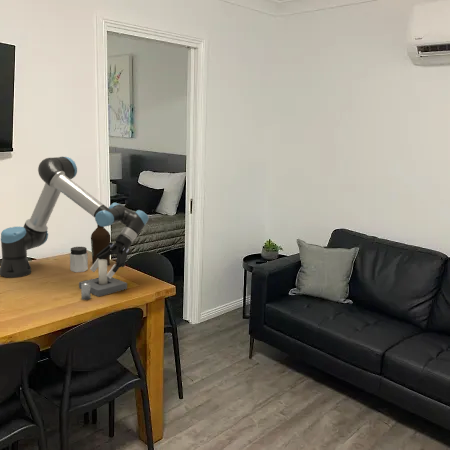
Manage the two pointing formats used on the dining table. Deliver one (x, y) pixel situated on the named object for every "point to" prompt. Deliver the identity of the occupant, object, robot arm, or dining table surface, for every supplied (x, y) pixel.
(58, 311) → the dining table surface
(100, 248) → the olive oil
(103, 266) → the long pin
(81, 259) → the jar
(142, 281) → the dining table surface
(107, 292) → the hole plate
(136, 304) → the dining table surface
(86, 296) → the short pin
